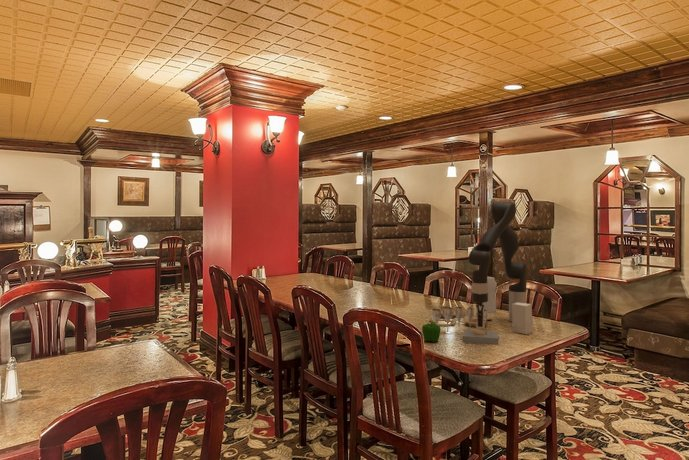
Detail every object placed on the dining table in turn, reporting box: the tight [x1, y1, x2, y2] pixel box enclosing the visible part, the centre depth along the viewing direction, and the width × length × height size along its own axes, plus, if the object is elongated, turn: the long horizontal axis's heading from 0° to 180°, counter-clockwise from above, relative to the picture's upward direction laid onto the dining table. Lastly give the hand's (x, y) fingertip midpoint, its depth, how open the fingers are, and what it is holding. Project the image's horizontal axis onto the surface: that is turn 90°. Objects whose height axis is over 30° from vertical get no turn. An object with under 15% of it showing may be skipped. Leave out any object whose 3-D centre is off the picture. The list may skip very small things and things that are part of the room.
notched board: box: [462, 329, 499, 345], centre depth 220 cm, size 12×16×3 cm
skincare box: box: [511, 302, 534, 335], centre depth 232 cm, size 8×6×15 cm
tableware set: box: [428, 307, 494, 328], centre depth 258 cm, size 35×29×4 cm
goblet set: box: [431, 306, 489, 335], centre depth 233 cm, size 28×6×13 cm, turn 82°
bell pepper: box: [421, 321, 441, 343], centre depth 219 cm, size 8×8×10 cm
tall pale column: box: [483, 276, 498, 314], centre depth 279 cm, size 11×4×22 cm, turn 91°
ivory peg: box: [475, 318, 486, 335], centre depth 222 cm, size 4×4×10 cm
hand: (480, 324), depth 222 cm, fingers open, 8 cm apart
